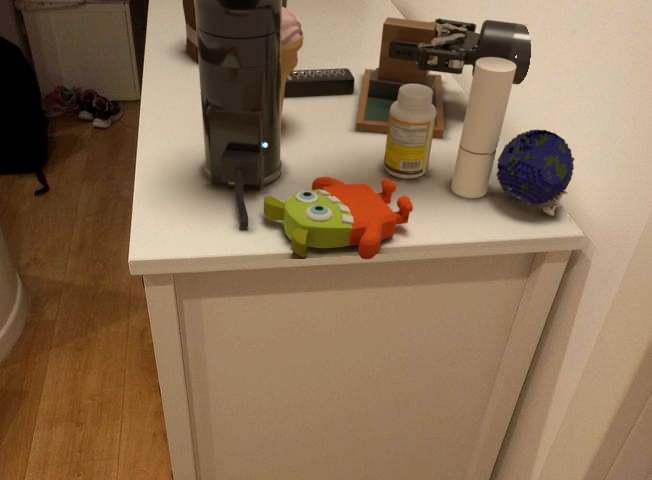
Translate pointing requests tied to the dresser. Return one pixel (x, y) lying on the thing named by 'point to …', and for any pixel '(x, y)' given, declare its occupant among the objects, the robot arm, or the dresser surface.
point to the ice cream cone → (289, 46)
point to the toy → (339, 215)
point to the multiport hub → (319, 82)
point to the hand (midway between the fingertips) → (395, 38)
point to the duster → (399, 70)
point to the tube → (482, 125)
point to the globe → (536, 168)
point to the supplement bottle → (410, 132)
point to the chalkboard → (377, 110)
